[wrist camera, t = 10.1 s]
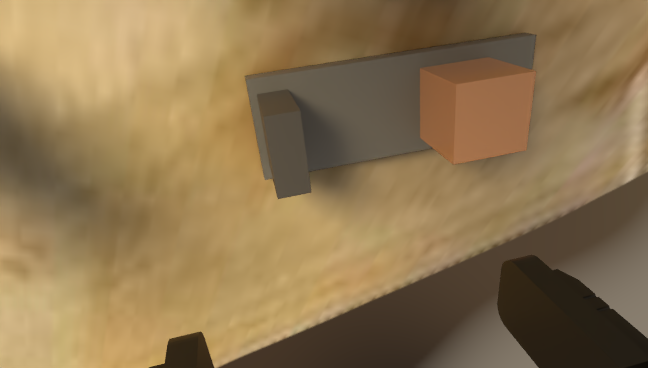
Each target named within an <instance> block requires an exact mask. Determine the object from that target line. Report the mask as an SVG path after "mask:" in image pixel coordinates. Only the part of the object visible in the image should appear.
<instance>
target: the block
mask: <svg viewBox="0 0 648 368" xmlns="http://www.w3.org/2000/svg"><path fill="white" fill-rule="evenodd" d="M535 76H536V71H534V70H531V69H527V68H524V67H521V66H517V65H514V64H510V63H507V62H503V61H500V60H497V59H493V58H490V57H486V58H480V59H474V60H467V61H461V62H455V63H449V64H442V65H436V66H430V67H424V68H420V138H421V139H422V140H423V141H425V142H426V143H427V144H428V145H430V146H431V147H432V148H433V149H435V150H436V151H437V152H438V153H440V154H441V155H442V156H443V157H445V158H446V159H447V160H448V161H450V162H451V163H452V164H453V165H454V164H459V163H464V162H469V161H474V160H479V159H484V158H489V157H494V156H499V155H504V154H510V153H515V152H520V151H525V150H526V149H527V141H528V133H529V125H530V117H531V109H532V100H533V92H534V84H535Z"/></svg>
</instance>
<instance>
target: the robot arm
mask: <svg viewBox="0 0 648 368" xmlns="http://www.w3.org/2000/svg"><path fill="white" fill-rule="evenodd" d="M497 305H498V311H499V315H500V318H501V320H502V322H503V324H504V325H505V326H506V328H507V329H508V330H509V332H510V333H511V334H512V335H513V337H514V338H515V339H516V340H517V341H518V343H519V344H520V345H521V346H522V348H523V349H524V350H525V351H526V352H527V354H528V355H529V356H530V357H531V359H532V360H533V361H534V362H535V364H536V365H537V366H538V367H539V368H648V338H646V337H645V336H644V335H643V334H642V333H641V332H639V331H638V330H637V329H636V328H635V327H633V326H632V325H631V324H630V323H629V322H628V321H626V320H625V319H624V318H623V317H622V316H620V315H619V314H618V313H617V312H616V311H615V310H613V309H610V308H609V305H608V304H606V303H605V302H604V301H603V300H602V299H600V298H599V297H596V296H595V293H593V292H592V291H591V290H590V289H589V288H587V287H586V286H585V285H584V284H583V283H581V282H580V281H579V280H578V279H576V278H574V277H572V276H570V275H568V274H566V273H564V272H562V271H560V270H558V269H556V270H551V269H550V268H549V267H548V266H547V265H546V264H545V263H544V262H542V261H541V260H540V259H539V258H538V257H536V256H534V255H529V256H525V257H521V258H516V259H512V260H508V261H505V262H504V263H503V264H502V269H501V277H500V286H499V294H498V303H497ZM149 368H214V366H213V363H212V360H211V357H210V354H209V351H208V347H207V344H206V341H205V338H204V336H203V333H202V332H197V333H193V334H189V335H184V336H180V337H176V338H172V339H170V340H169V341H168V345H167V352H166V359H165V364H161V365H157V366H153V367H149Z"/></svg>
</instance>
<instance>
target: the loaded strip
mask: <svg viewBox="0 0 648 368" xmlns="http://www.w3.org/2000/svg"><path fill="white" fill-rule="evenodd" d="M535 41H536V35H534V34H529V33H521V34H515V35H508V36H501V37H495V38H488V39H482V40H475V41H469V42H462V43H456V44H449V45H443V46H436V47H430V48H423V49H416V50H410V51H403V52H397V53H390V54H384V55H377V56H371V57H364V58H358V59H351V60H345V61H338V62H332V63H325V64H318V65H312V66H305V67H299V68H292V69H286V70H279V71H273V72H266V73H260V74H253V75H247V76H245V79H246V84H247V90H248V95H249V100H250V105H251V110H252V116H253V121H254V126H255V131H256V137H257V142H258V147H259V152H260V157H261V163H262V168H263V173H264V178H265V180H267V179H272V178H273V181H274V185H275V189H276V193H277V197H278V199H281V198H286V197H291V196H296V195H301V194H306V193H311V185H310V178H309V171H315V170H320V169H325V168H331V167H336V166H341V165H346V164H352V163H357V162H362V161H368V160H373V159H378V158H383V157H389V156H394V155H399V154H405V153H410V152H415V151H420V150H426V149H431V148H432V147H431V146H430V145H428V144H427V143H426V142H425V141H423V140H422V139H421V138H420V68H424V67H430V66H436V65H442V64H449V63H455V62H461V61H467V60H474V59H480V58H486V57H490V58H493V59H497V60H500V61H503V62H507V63H510V64H514V65H517V66H521V67H524V68H527V69H531V70H532V66H533V57H534V49H535Z"/></svg>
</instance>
